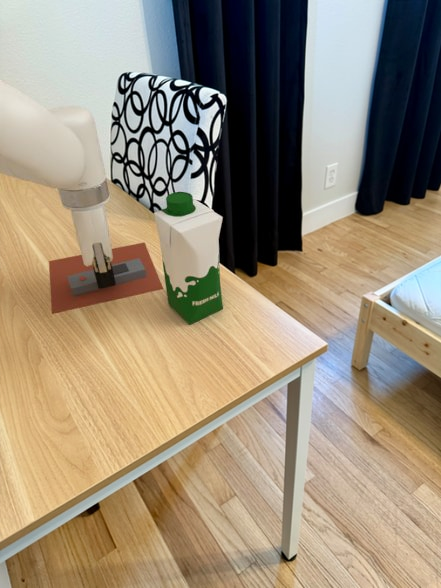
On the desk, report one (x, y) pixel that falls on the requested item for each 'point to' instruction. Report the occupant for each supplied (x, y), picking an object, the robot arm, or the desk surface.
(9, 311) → the desk surface
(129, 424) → the desk surface
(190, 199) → the milk carton
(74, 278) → the remote
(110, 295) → the mat
